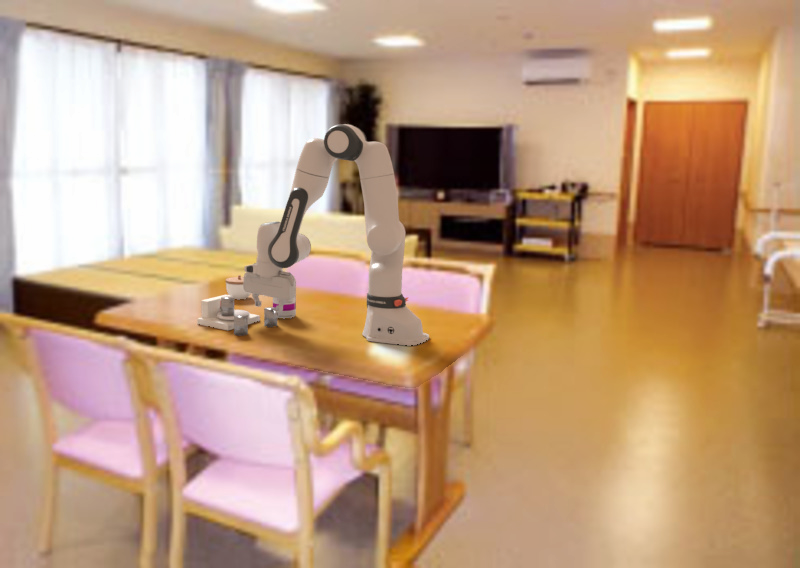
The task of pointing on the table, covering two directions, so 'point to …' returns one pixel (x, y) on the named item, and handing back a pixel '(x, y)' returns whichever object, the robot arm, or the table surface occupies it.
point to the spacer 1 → (227, 306)
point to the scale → (213, 314)
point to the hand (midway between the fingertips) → (268, 308)
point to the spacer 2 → (240, 325)
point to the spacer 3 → (270, 316)
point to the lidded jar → (236, 287)
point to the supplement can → (286, 306)
